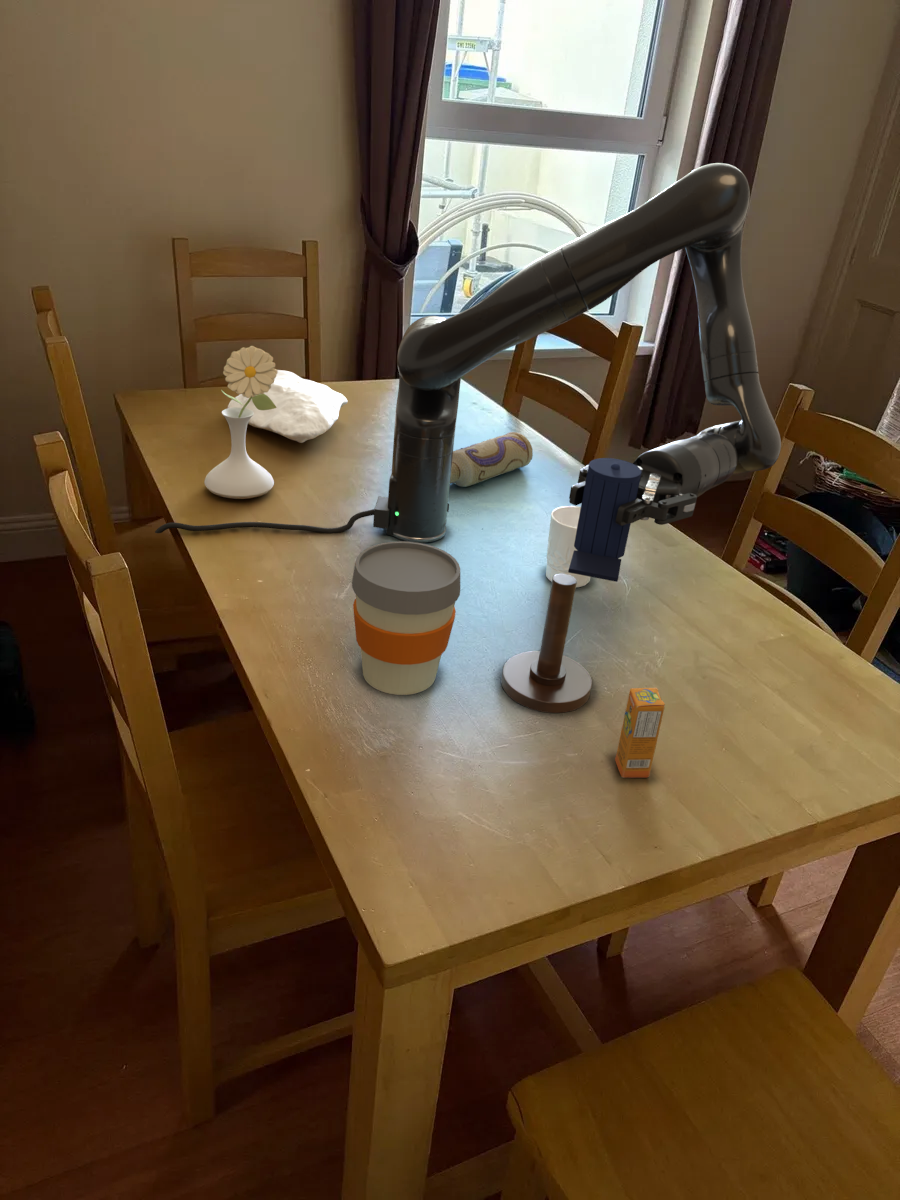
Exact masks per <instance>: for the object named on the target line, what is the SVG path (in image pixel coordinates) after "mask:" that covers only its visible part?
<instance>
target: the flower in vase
mask: <svg viewBox="0 0 900 1200" xmlns="http://www.w3.org/2000/svg"><path fill="white" fill-rule="evenodd" d="M273 361H274V357H273V356H272V355H271V354H270V353H269V352H266V351H265V350H263V349H262V348H258V347H255V346H254V345H250V346H249V347H241V348H239V350H237V351H235V350H233V351H232V352H231V353H230V356H229V358H227V359H226V363H225V365H224V366H223V371H222V374H223V375H224V377H225V379H224V380H225V382H226V383H228V384H227V388H228V389H229V390H231V391H232V392H235V393H236V394H237V395H240V394H242V395H243V396H244V397H246V398H249V400H248V401H247V402H246V404H245V405H244V406H243V408H239V407H234V408H228V407H227V408H225V409H223V410H221V415H222V416H223V417H224V419H225V421H226V422H227V424H228V427H229V433H230V441H231V449H230V453H229V456H228V457H227V458H225V459H224V460H223V461H221V462H220V463H218V464H217V465H216V466H214V467H213V468H212V469H211V470H210V471H209V472H208V473H207V474H206V476H205V478H204V482H203V484H204V486H205V487H206V489H207V490H208V491H209V492H211V493H212V494H213V495H216V496H218V497H223V498H227V499H235V500H244V499H245V500H246V499H253V498H257V497H261V496H263V495H266V494H268V493H269V492H270V491H271V490H272V489H273V488H274V485H275V480H274V478H273V475H272V474H271V473H270V472H269V471H268V470H267V469H266V468H265V467H263V466H262V465H260V464H259V463H258V462H256V461H254V460H253V459H252V458H251V457H250V456H249V454H248V453H247V449H246V435H247V428H248V425H249V424H248V422H249V420H250V418H251V417H252V416H253V414H254V413H253V411H251V410H249V409H246V408H245V407H246V406H247V405H248V403H249V402H250V400H251V399H252V401H253V403H254V405H255V407H256V408H257V409H258V410H269V409H274V408H276V406H275V404H274V403H273V402H272V400H271V399H270V398H269V397H268V396H267V395H265V394H264V393H265V392H268V391H269V389H270V388H271V384H272V383H274V381H275V380H274V378H276V374H277V373H278V371H277V370H278V369H276V363H275V362H273ZM221 393H223V395H225V396H226V397H227V398H229V399H231V400H234V401H236V402H238V403H240V404H242V403H241V402H240V401H239V400H237V399H236V398H235V397H234V396H232V395H229V394H227V393H225V391H223V390H221ZM242 405H243V404H242Z"/></svg>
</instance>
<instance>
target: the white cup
mask: <svg viewBox="0 0 900 1200" xmlns="http://www.w3.org/2000/svg"><path fill="white" fill-rule="evenodd" d="M580 509H581V506H578V505H576V506H575V505H565V506H559V507H556V508H554V509H553V510H552V511H551V513H550V519H549V529H548V538H547V548H546V565H545V577H546V578H547V579H548V580H549V582H551V583H552V578H553V576H554V575H556V574H568V575H571V576H573V577H574V578H575V579H576V580H577V584H576V588H580V587H585V586H587V584H589V583H590V581H591V577H589V576H584V575H579V574H574V573H569V572H568V570H569V566H570V563H571V559H572V556H573V552H574V550H576V551H577V549H576V548H575V547H574V542H575V537H576V531H577V526H578V520H579V515H580Z"/></svg>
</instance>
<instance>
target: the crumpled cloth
mask: <svg viewBox="0 0 900 1200" xmlns="http://www.w3.org/2000/svg"><path fill="white" fill-rule="evenodd" d="M277 371H278V373H277V374H276V378H274V380H275V381H274V383H272V384H271V388H270V389H269V391H268V392H265V393H264V394H265V395H267V396H268V397H269V398H270V399H271V400H272V402H273V403H274V404H275V406H276V408H274V409H269V410H258V409H257V408H256V407H255V405H254V403H253V401H252V399H251V400H250V402H249V403H248V405H247V406H246V407H245V408H246V409H249V410H251V411H253V413H254V414H253V416H252V417H251V418H250V420H249V422H248V425H249V426H252V427H253V428H258V429H263V430H266V431H269V432H272V433H274V434H278V435H280V436H283V437H285V438H287V439H289V440H291V441H295V442H297V443H299V444H300V443H301V444H303V443H305V442H306V441H308V440H313V439H315V438H317V437H319V436H322V435H323V434H325V433H326V432H327V431H329V430H330V429H331V428H332V427H333V425H334V424H335V423H336V422H337V421H338V419H339V415H340V410H341V409H342V407H344V405H347V404H348V399H347V398H346V396H345V395H344V394H342V393H340V392H338V391H336V390H334V389H332V388H330V387H329V386H328V385H327V384H323V383H319V382H316V381H314V380H311V379H306V378H303V377H301V376H299V375H298V374H296V373H294V372H293V371H288V370H284V369H283V370H281V369H277ZM234 398H236V399H237V400H239V401H240V402H241V403H242V404H243V405H242V404H240V403H238V402H236V401H234V400H232V399H231V400H230V401H229V403H228V404H227V408H234V407H239V408H243V406H244V405H245V404H246V402H247V401H248V400H249V398H246V397H244V396H243V395H242V394H237V395H236V396H235V397H234Z"/></svg>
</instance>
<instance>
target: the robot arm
mask: <svg viewBox="0 0 900 1200" xmlns="http://www.w3.org/2000/svg"><path fill="white" fill-rule="evenodd" d="M750 195H751V192H750V185H749V182H748V179H747V177H746V175H745V173H743V171H742V170H740V169H739V168H737V167H736V166H735V165H732V164H729V163H723V162H715V163H708V164H705V165H702V166H700V167H697V168H696V169H693V170H691V172H689V173H687V174H686V175H685V176H682V178H679V180H677V181H676V182H674V183H673V184H671V185H670V186H668V187H667V188H665V189H664V190H662V191H661V192H659V193H658V194H656V195H655V196H654V197H652V198H650V199H649V200H648V201H645V202H644V203H642V204H641V205H640V206H638V207H637V208H635V209H633V210H631V211H630V212H628V213H626V214H624V215H621V216H619V217H618V218H616V219H613V220H611V221H608V222H606V223H605V224H603V225H601V226H598V227H597V228H595V229H593V230H591V231H589V232H587V233H585V234H582V235H581V236H580V237H577V238H575V239H574V240H571V241H569V242H568V243H565V244H563V245H561V246H559V247H557V248H556V249H553V250H552V251H550V252H547V253H546V254H545V255H543V256H541V257H539V258H537V259H535V260H534V261H532V262H531V263H529V264H528V265H526V266H525V267H523V268H522V269H521V270H519V271H518V272H517V273H515V274H514V275H512V276H511V277H510V278H508V279H507V280H506V281H505V282H503V283H502V284H501V285H500V286H499V287H498V288H496V289H495V290H494V291H493V292H491V293H490V294H489V295H487V296H486V297H485V298H483V299H482V300H481V301H480V302H478V303H476V304H474V305H473V306H471V307H469V308H467V309H465V310H464V311H461V312H459V313H457V314H455V315H452V316H450V317H448V318H445V317H441V316H438V315H428V316H423V317H420V318H418V319H416V320H415V321H413V322H411V324H410V325H409V326H408V327H407V328H406V329H405V332H403V333H404V334H403V336H402V338H401V341H400V342H399V347H398V349H397V356H396V363H397V369H398V372H399V373H398V374H399V377H398V378H399V379H398V390H397V396H396V397H397V399H396V405H395V412H394V427H393V429H394V431H393V446H392V460H391V473H390V477H389V480H388V496H381V495H378V497H377V499H376V500H377V501H376V504H375V505H374V509H369V510H364V511H360V512H358V513H355V514H354V515H352V516H351V517H350V518H349V520H348V521H347V523H346V524H344V525H342V526H338V527H321V526H314V525H307V524H288V523H276V522H274V523H273V522H262V521H239V522H238V521H237V522H226V523H216V524H205V525H204V524H203V525H192V524H187V523H181V522H175V521H174V522H167V523H164V524H162V525H160V526H159V527H158V528H157V529H156V530H155V531H154V533H155V534H162V533H163V532H165V531H167V530H169V529H179V530H183V531H189V532H210V531H219V530H230V529H241V528H242V529H245V528H246V529H247V528H249V529H250V528H253V529H255V528H258V529H272V530H273V529H274V530H283V531H301V532H302V531H303V532H304V531H305V532H311V533H317V534H338V533H339V534H341V533H344V532H346V531H349V530H350V529H351V528H352V527H353V526H354V524H355V522H356V521H358V520H359V519H362V518H366V517H371V516H373V524H372V527H373V528H377V529H378V528H379V529H385V535H387V536H393V537H395V538H396V539H399V540H401V541H404V542H416V543H422V544H425V543H431V542H436V541H438V540H441V539H442V538H443V537H444V536H445V535H446V533H447V532H446V531H447V517H448V516H447V515H448V513H449V512H450V511H449V509H450V503H449V497H450V486H451V483H450V477H451V467H452V457H453V451H454V447H455V436H456V426H457V419H458V411H459V400H460V391H461V390H460V388H461V382H462V377H464V376H465V375H466V374H468V373H469V372H472V370H474V369H475V368H477V367H478V366H480V365H481V364H483V363H485V362H486V361H488V360H490V359H491V358H493V357H495V356H496V355H498V354H500V353H502V352H504V351H505V350H508V349H510V348H512V347H514V346H517V345H519V344H520V345H521V344H522V343H524V342H526V341H529V340H531V339H534V338H535V337H537V336H540V335H541V334H543V333H544V334H545V332H548V331H549V330H552V329H554V328H556V327H558V326H560V325H563V324H565V323H567V322H568V321H569V322H570V321H571V320H573V319H575V318H577V317H579V316H580V315H583V314H584V313H587V312H588V311H590V310H592V309H594V308H595V307H598V306H599V305H600V304H602V303H603V302H605V301H607V300H608V299H610V298H611V297H612V296H613V295H615V294H616V293H618V292H619V291H620V290H621V289H622V288H624V287H625V286H626V285H627V284H628V283H630V282H631V281H632V280H633V279H635V278H636V277H637V276H638V275H639V274H641V273H642V272H643V271H645V270H646V269H647V268H648V267H650V266H652V265H653V264H656V262H658V261H660V260H662V259H665V258H666V257H669V256H670V255H672V254H674V253H676V252H679V251H681V250H683V249H685V252H686V255H687V259H688V263H689V266H690V270H691V275H692V279H693V284H694V289H695V296H696V305H697V317H698V318H697V319H698V336H699V348H700V349H699V350H700V359H701V360H700V361H701V369H702V375H703V377H702V378H703V382H704V391H705V398H706V400H707V402H709V404H711V405H713V406H721V407H722V406H724V407H725V406H727V407H728V406H731V407H734V408H735V409H736V411H737V412H738V415H739V416H740V418H741V419H740V420H735V421H731V422H726V423H721V424H716V425H713V426H710V427H708V428H705V429H703V430H701V431H699V433H698V434H696V435H694V436H691V437H688V438H685V439H678V440H675V441H672V442H670V443H667V444H664V445H661V446H658V447H655V448H653V449H650V450H647V451H645V452H643V453H642V454H640V455H639V456H637V458H636V459H635V460H634V461H633V462H632V464H634V465H636V466H638V467H639V468H640V469H641V472H642V473H641V477H640V483H639V487H638V492H637V497H636V499H635V500H633V501H631V502H628V503H625V504H623V505H621V506H620V507H619V508H618V512H617V517H616V524H619V525H621V526H623V525H625V524H630V523H631V524H634V523H636V522H638V521H640V520H641V521H649V519H653V520H654V521H653V523H654V524H655V525H660V526H661V525H667V524H670V523H671V524H672V523H674V522H677V521H681V520H684V519H687V518H692V517H693V515H694V512H695V507H696V504H697V499H698V498H699V497H700V496H702V495H703V494H704V493H705V492H707V491H709V490H711V489H714V488H715V487H717V486H719V485H722V484H723V483H725V482H726V481H728V479H730V478H731V477H732V476H733V475H739V474H740V475H741V474H745V473H752V472H758V471H759V472H760V471H764V470H767V469H770V468H772V466H774V465H775V464H776V462H777V461H778V459H779V456H780V454H781V449H782V440H781V434H780V431H779V428H778V425H777V424H776V421H775V419H774V416H773V414H772V411H771V410H770V408H769V405H768V402H767V399H766V396H765V393H764V392H763V389H762V385H761V382H760V374H759V366H758V357H757V348H756V340H755V335H754V330H753V325H752V321H751V315H750V312H749V308H748V307H749V306H748V303H747V299H746V295H745V289H744V281H743V270H742V246H743V231H744V230H743V228H744V225H745V222H746V220H747V216H748V215H747V214H748V210H749V207H750V200H751V199H750V198H751V196H750ZM588 467H589V464H586V465H585V466H583V467H582V468H580V469H579V473H578V479H577V483H575V484H573V485H571V486H570V491H569V496H568V499H569V504H570V505H572V506H578V505H581V504H582V498H583V493H584V487H585V482H586V476H587V471H588Z"/></svg>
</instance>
